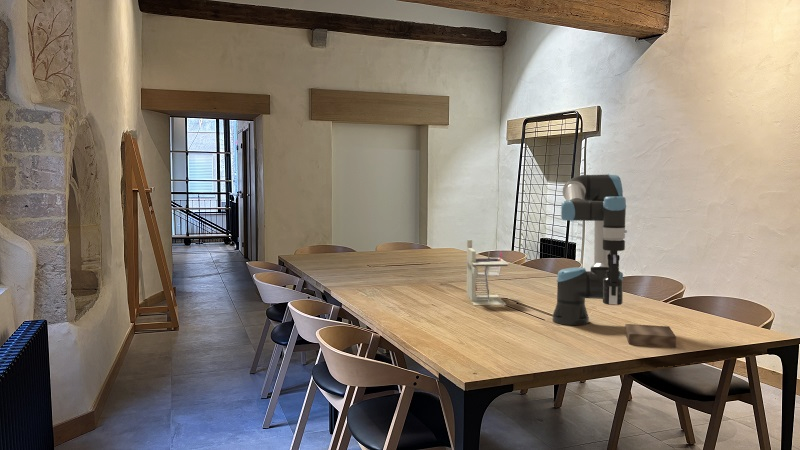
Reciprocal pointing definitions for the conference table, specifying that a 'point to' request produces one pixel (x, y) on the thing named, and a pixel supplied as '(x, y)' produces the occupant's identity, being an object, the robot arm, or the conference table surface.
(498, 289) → the conference table surface
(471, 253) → the white ladder tower
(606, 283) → the supplement bottle
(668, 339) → the walnut base
